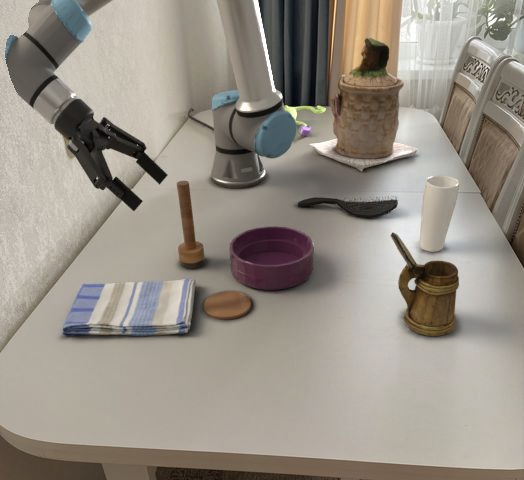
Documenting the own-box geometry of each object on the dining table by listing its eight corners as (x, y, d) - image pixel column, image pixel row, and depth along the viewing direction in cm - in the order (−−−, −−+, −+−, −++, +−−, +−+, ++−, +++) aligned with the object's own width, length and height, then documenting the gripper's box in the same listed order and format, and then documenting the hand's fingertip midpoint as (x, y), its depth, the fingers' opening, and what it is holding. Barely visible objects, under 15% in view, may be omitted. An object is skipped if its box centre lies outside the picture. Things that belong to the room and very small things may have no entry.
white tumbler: (447, 242, 123) (461, 177, 114) (445, 256, 118) (458, 189, 109) (417, 238, 125) (427, 173, 116) (413, 252, 120) (424, 185, 111)
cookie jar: (420, 154, 167) (438, 35, 147) (360, 173, 157) (370, 47, 137) (364, 135, 183) (374, 25, 164) (306, 150, 173) (309, 35, 153)
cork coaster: (196, 302, 107) (196, 299, 107) (237, 288, 110) (237, 286, 110) (216, 325, 101) (216, 322, 100) (259, 310, 104) (259, 307, 104)
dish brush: (176, 261, 120) (164, 181, 109) (198, 254, 122) (189, 175, 111) (186, 272, 116) (175, 190, 105) (209, 265, 118) (200, 184, 107)
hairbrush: (301, 188, 142) (399, 191, 136) (301, 202, 145) (398, 205, 138) (293, 201, 136) (396, 205, 130) (294, 215, 138) (395, 220, 132)
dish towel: (191, 336, 98) (189, 323, 96) (60, 339, 99) (56, 327, 97) (199, 285, 112) (198, 273, 110) (84, 288, 112) (81, 276, 110)
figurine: (329, 119, 199) (329, 102, 196) (305, 141, 180) (306, 124, 176) (281, 115, 205) (281, 99, 201) (254, 136, 186) (253, 119, 182)
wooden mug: (375, 308, 103) (386, 220, 92) (448, 308, 103) (467, 219, 92) (382, 337, 96) (395, 245, 85) (460, 336, 96) (483, 244, 85)
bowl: (217, 264, 118) (215, 239, 115) (285, 244, 125) (285, 219, 121) (256, 301, 106) (254, 275, 103) (329, 277, 113) (330, 251, 109)
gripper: (86, 107, 116) (163, 181, 122) (20, 146, 97) (115, 231, 103) (104, 81, 111) (182, 158, 118) (39, 116, 92) (137, 206, 99)
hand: (151, 192), depth 111 cm, fingers open, 13 cm apart
